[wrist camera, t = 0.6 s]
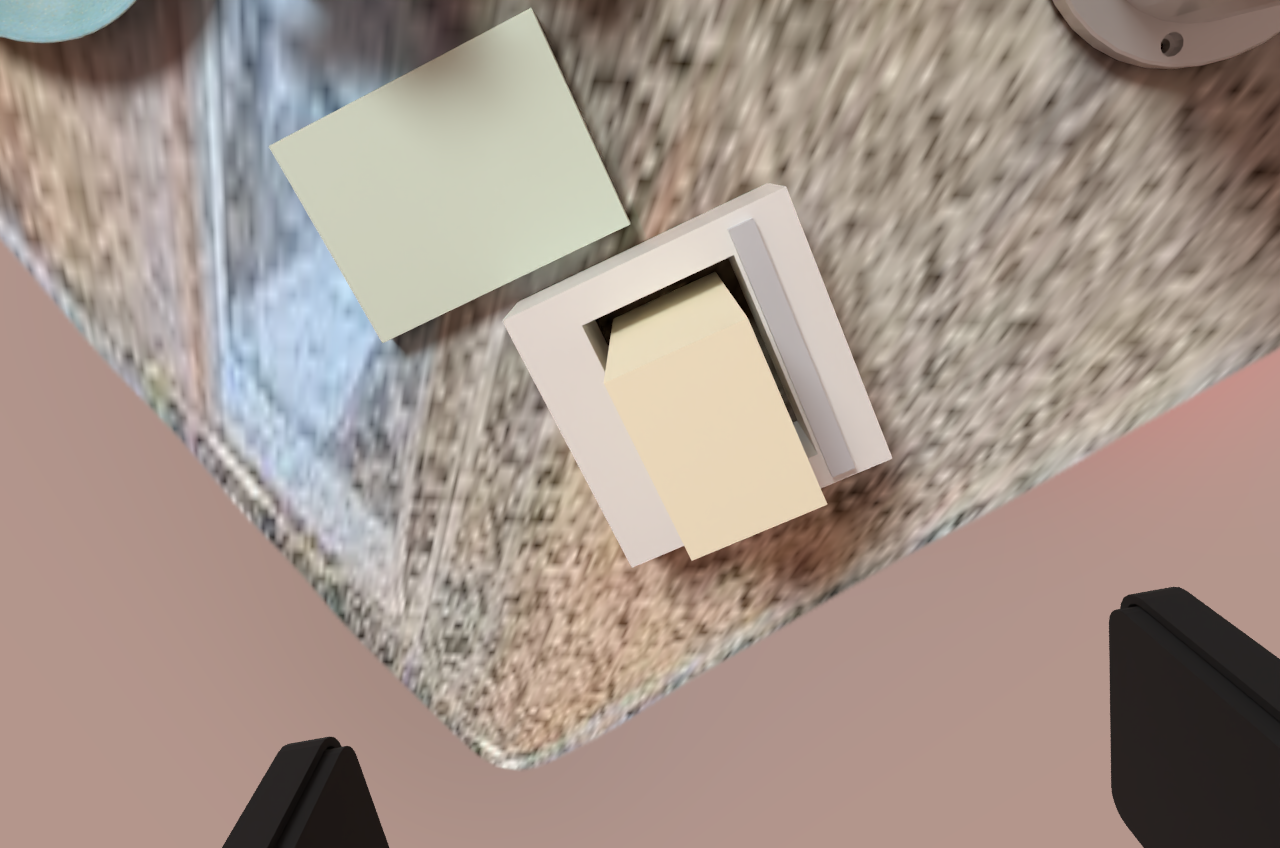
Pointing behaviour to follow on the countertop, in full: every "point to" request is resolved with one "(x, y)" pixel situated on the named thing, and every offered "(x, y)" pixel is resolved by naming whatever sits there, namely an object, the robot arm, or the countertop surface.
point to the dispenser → (786, 318)
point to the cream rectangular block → (708, 417)
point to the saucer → (57, 18)
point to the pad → (453, 178)
